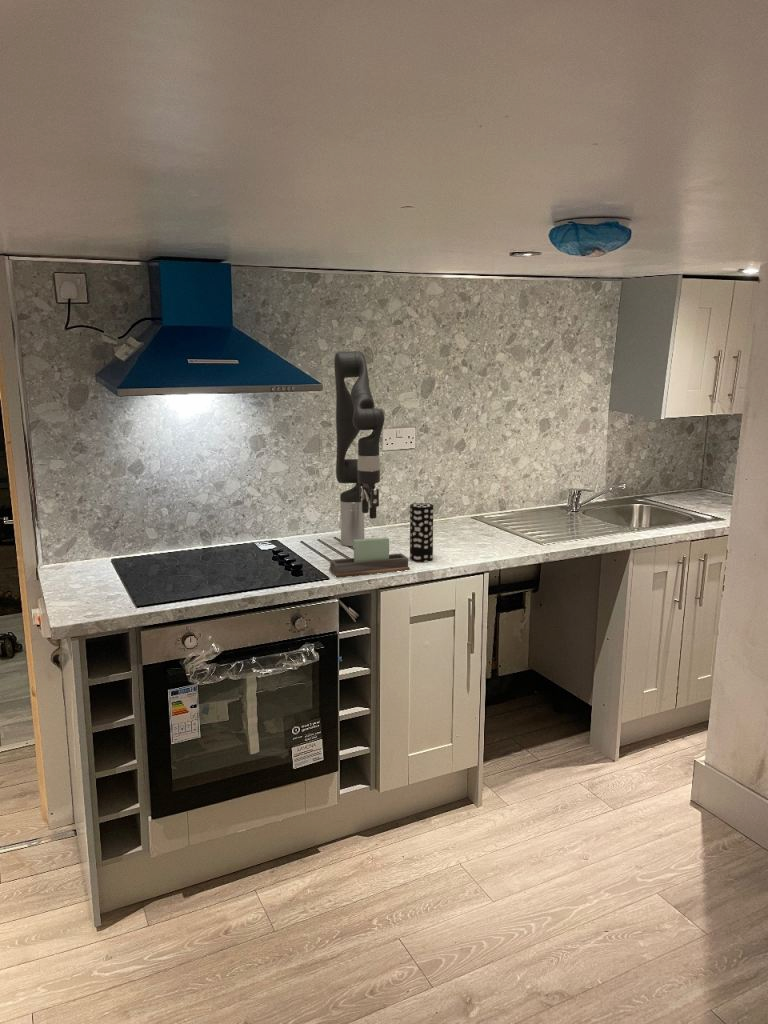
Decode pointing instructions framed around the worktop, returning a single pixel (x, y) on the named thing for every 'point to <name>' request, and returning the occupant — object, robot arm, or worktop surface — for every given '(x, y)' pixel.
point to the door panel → (371, 549)
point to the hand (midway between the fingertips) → (369, 515)
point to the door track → (368, 566)
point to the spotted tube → (421, 532)
